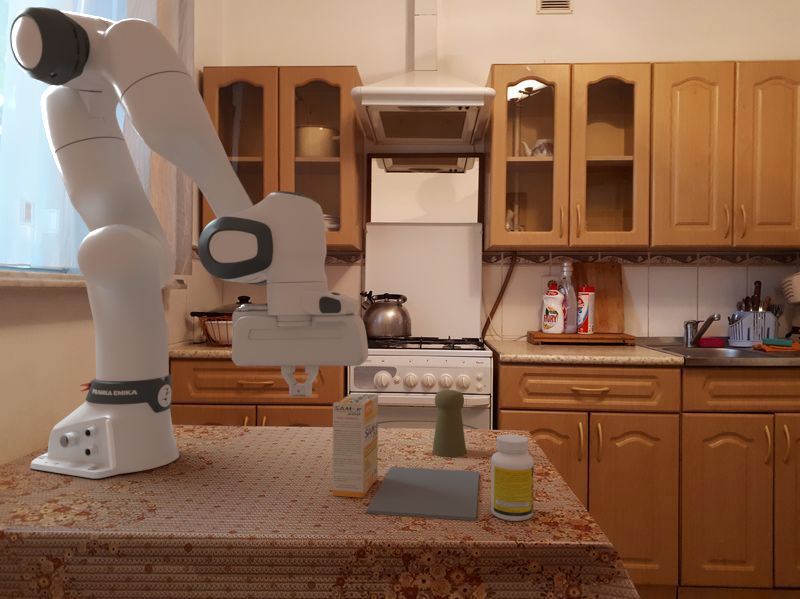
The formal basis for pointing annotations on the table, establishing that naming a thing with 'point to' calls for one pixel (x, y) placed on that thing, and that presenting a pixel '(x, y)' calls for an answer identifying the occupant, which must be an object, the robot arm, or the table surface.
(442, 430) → the green pepper mill
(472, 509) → the mat
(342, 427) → the supplement box
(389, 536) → the table surface
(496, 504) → the supplement bottle
